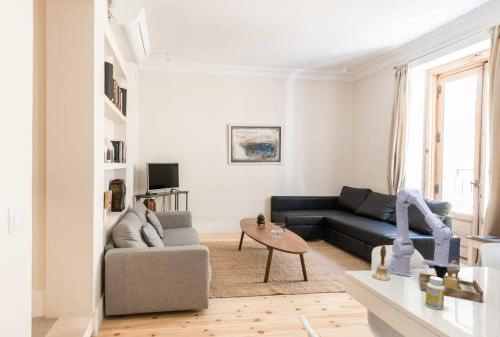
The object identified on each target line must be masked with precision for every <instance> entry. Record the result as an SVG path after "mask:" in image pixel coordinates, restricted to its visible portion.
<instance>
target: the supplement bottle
mask: <svg viewBox="0 0 500 337" xmlns="http://www.w3.org/2000/svg"><path fill="white" fill-rule="evenodd" d="M435 276H436V275H434V276H431V277H430V282H429V283H427V289H426V292H425V305H426V306H427V307H428V308H430V309H434V310H442V309H443V308H444V302H445V295H444V292H445V287H444V286H443V285H442V284H443V279H442V278H439V277H435Z"/></svg>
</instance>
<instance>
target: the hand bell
mask: <svg viewBox="0 0 500 337" xmlns="http://www.w3.org/2000/svg"><path fill="white" fill-rule="evenodd" d="M379 252H380V264H379V265H377V266H376V267H377V268H376V271H375V272H374V273H373V274H372V276H371V277H372V278H373V279H376V280H379V281H384V282H385V281H386V282H387V281H389V282H390V281H391V277H390V276H389V274H388V268H387V266H386V265H385V258H386V255H387V249H386V246H385V245H382V246H381V247H380V251H379Z"/></svg>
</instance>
